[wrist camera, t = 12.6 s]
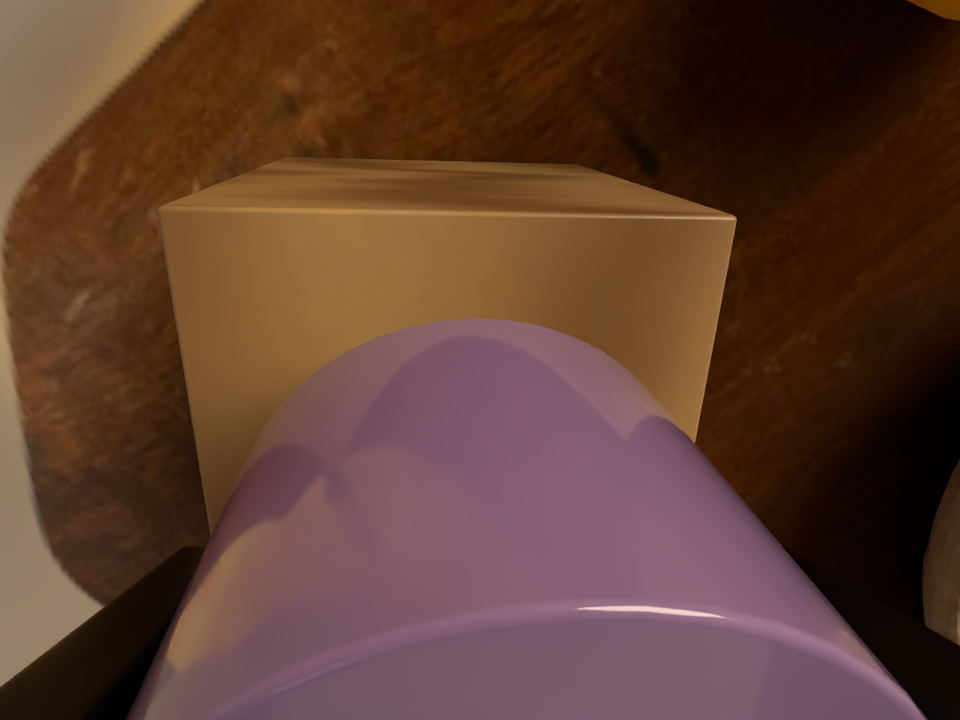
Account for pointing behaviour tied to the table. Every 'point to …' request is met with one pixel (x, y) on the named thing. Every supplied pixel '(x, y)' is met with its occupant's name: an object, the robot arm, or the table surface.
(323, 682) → the lavender cylinder puck
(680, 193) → the table surface
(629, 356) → the block
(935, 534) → the ceramic bowl
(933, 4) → the orange
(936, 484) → the table surface
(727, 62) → the table surface
